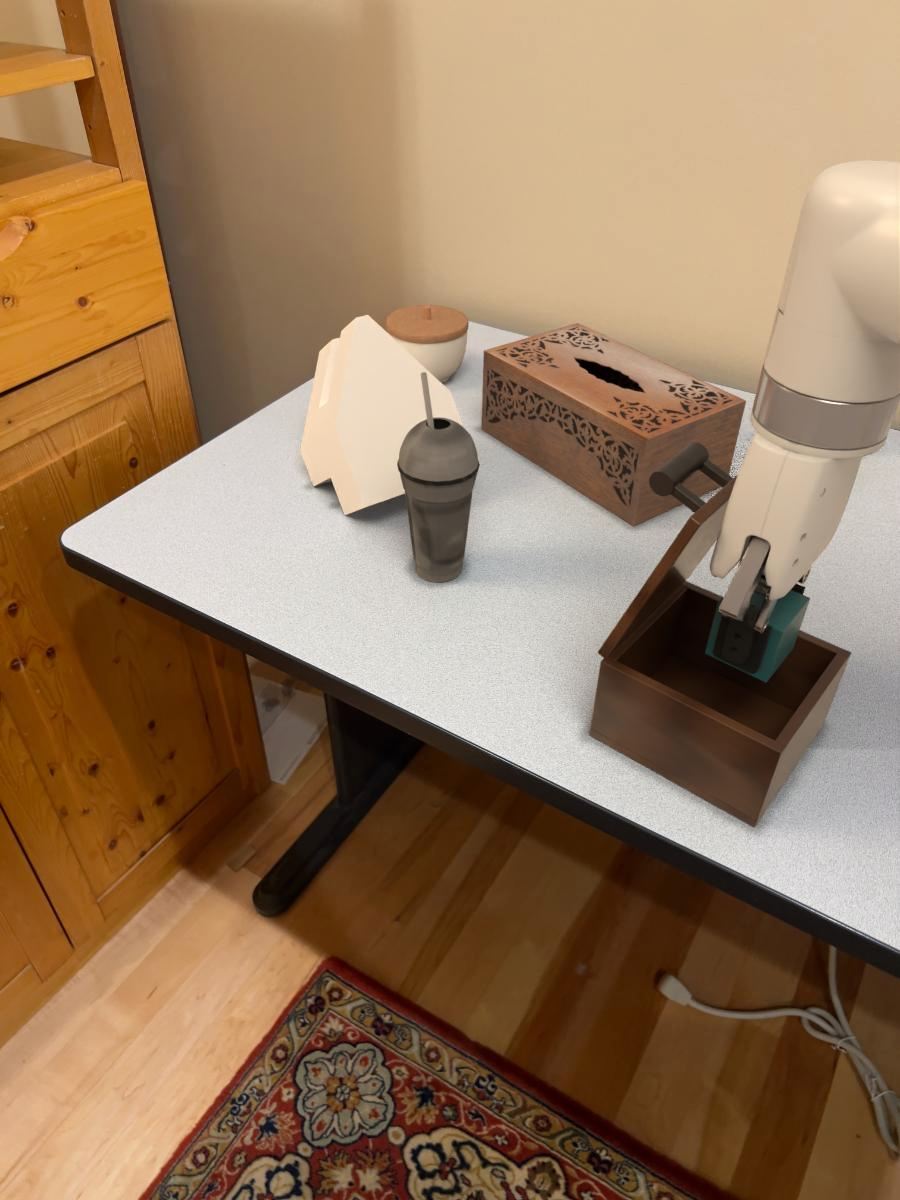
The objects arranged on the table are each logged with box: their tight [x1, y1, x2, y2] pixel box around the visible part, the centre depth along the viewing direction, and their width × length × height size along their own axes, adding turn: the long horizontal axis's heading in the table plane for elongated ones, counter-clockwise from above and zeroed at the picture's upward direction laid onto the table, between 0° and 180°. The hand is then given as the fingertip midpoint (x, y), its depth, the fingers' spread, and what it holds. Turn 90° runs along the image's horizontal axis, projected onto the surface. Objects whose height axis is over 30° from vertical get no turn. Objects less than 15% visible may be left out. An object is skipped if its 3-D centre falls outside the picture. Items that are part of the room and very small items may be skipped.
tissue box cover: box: [480, 322, 747, 527], centre depth 99 cm, size 26×14×10 cm, turn 36°
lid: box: [597, 443, 738, 659], centre depth 62 cm, size 14×13×5 cm
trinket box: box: [385, 304, 470, 384], centre depth 116 cm, size 11×11×9 cm
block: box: [705, 578, 811, 682], centre depth 61 cm, size 5×5×5 cm
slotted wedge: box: [299, 314, 464, 516], centre depth 94 cm, size 14×11×18 cm
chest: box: [589, 580, 852, 828], centre depth 66 cm, size 14×13×8 cm
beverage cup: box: [397, 372, 481, 584], centre depth 79 cm, size 7×7×20 cm
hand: (752, 640), depth 62 cm, fingers closed on block, 4 cm apart
